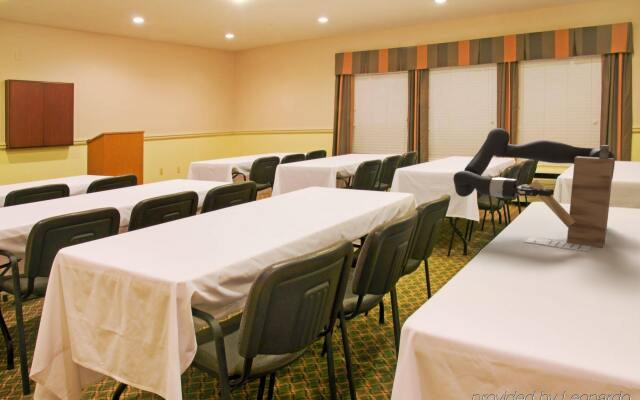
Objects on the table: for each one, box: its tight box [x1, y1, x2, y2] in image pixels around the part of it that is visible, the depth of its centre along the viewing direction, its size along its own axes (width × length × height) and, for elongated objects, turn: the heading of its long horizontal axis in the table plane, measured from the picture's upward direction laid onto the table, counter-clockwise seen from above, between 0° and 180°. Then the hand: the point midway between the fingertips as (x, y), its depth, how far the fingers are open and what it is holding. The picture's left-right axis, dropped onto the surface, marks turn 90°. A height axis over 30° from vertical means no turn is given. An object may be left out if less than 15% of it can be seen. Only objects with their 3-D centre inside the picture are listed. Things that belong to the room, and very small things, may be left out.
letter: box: [524, 237, 592, 253], centre depth 189 cm, size 8×21×1 cm, turn 53°
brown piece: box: [566, 144, 615, 249], centre depth 188 cm, size 6×12×37 cm, turn 53°
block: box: [528, 179, 576, 228], centre depth 188 cm, size 3×20×3 cm
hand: (551, 192), depth 187 cm, fingers closed on block, 2 cm apart
